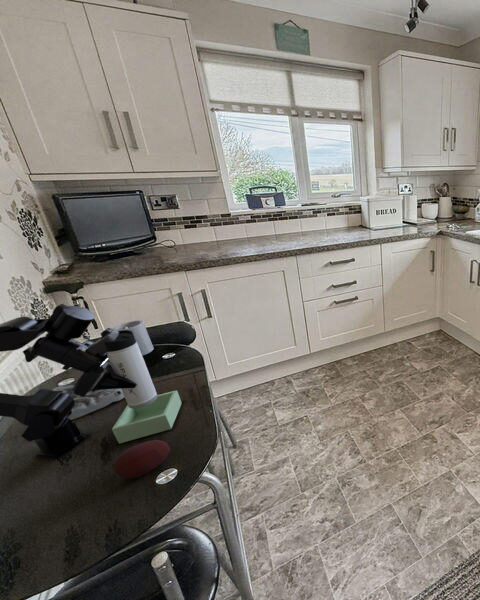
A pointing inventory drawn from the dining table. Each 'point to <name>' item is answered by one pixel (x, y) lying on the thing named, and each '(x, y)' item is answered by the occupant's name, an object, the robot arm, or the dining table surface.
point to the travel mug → (131, 369)
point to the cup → (138, 335)
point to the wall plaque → (90, 399)
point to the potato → (141, 459)
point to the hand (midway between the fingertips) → (140, 379)
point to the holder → (148, 418)
